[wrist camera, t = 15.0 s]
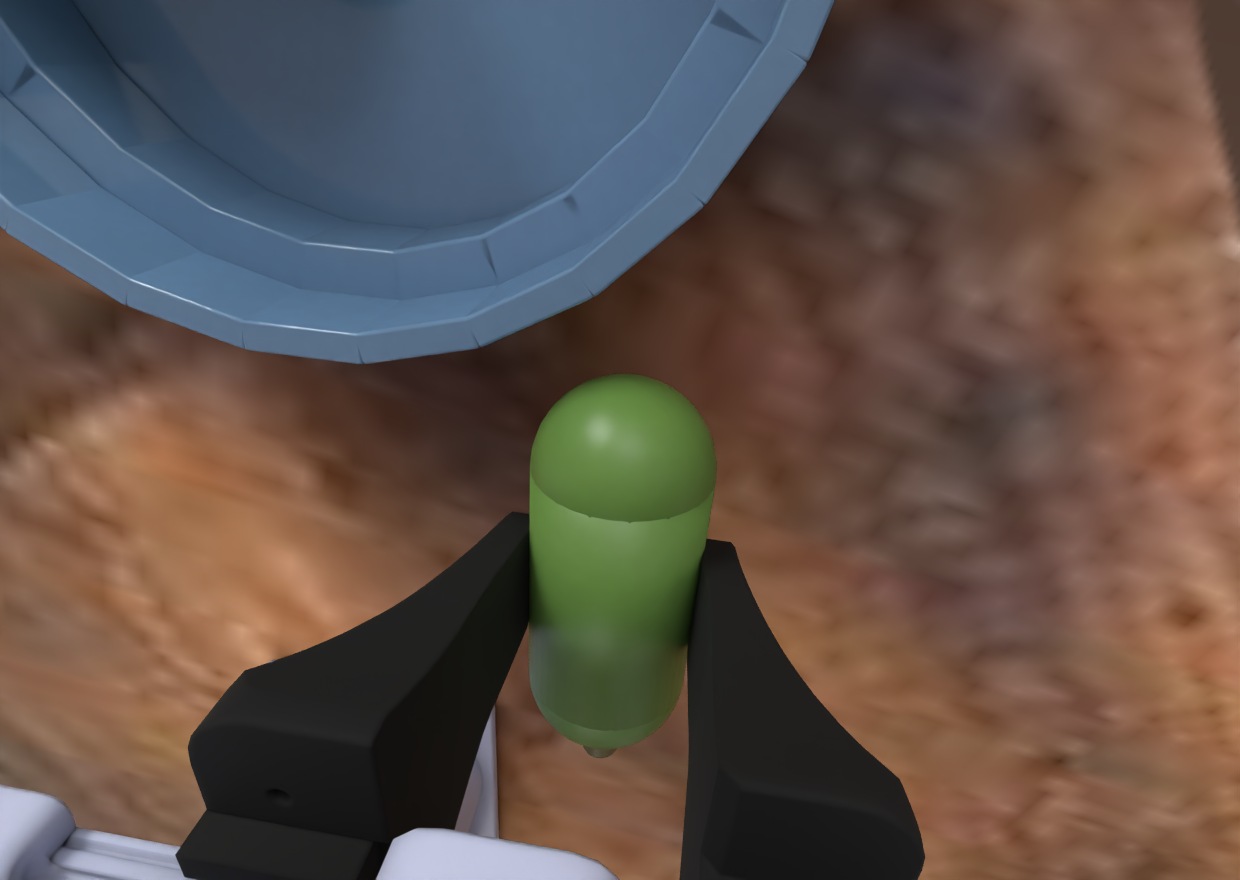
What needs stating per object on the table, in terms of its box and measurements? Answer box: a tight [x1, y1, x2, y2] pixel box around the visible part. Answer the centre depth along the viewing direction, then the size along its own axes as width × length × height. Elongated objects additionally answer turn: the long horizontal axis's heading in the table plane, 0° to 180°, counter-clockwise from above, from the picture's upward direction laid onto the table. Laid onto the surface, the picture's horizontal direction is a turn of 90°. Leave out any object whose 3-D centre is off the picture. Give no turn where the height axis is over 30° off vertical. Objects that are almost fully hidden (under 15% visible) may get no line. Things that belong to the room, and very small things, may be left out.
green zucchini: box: [529, 374, 717, 758], centre depth 15 cm, size 10×4×4 cm, turn 175°
